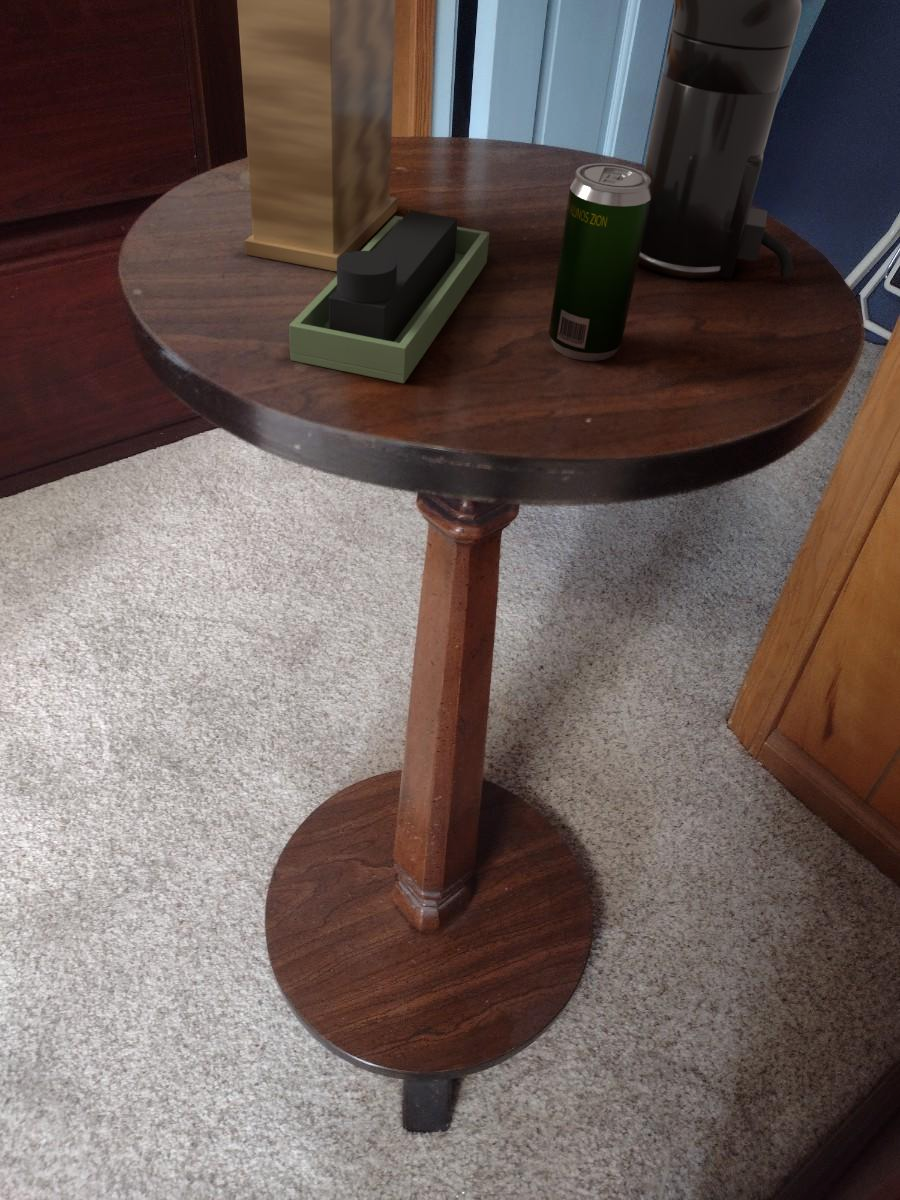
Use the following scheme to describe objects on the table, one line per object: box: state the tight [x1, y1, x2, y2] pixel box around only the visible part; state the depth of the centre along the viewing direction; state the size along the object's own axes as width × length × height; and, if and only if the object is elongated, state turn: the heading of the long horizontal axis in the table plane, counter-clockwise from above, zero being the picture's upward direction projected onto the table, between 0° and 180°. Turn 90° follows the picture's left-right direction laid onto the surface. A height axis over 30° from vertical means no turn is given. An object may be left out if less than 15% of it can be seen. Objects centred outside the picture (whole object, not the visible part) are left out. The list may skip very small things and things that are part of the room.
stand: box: [236, 0, 398, 273], centre depth 74 cm, size 15×8×30 cm, turn 164°
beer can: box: [548, 162, 651, 362], centre depth 67 cm, size 5×5×12 cm
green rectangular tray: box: [288, 215, 490, 384], centre depth 73 cm, size 22×8×3 cm, turn 164°
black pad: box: [329, 209, 459, 342], centre depth 71 cm, size 18×4×6 cm, turn 164°
